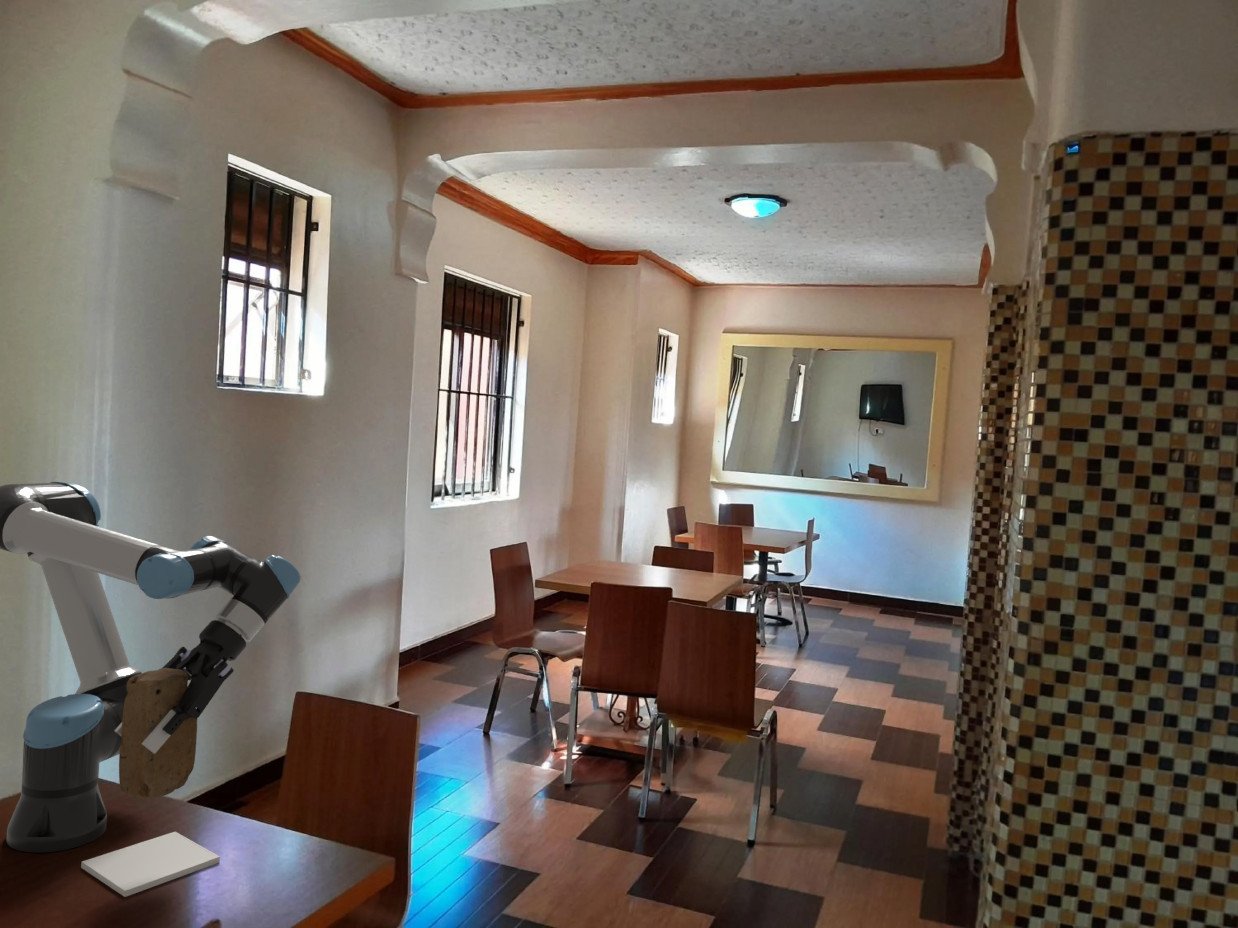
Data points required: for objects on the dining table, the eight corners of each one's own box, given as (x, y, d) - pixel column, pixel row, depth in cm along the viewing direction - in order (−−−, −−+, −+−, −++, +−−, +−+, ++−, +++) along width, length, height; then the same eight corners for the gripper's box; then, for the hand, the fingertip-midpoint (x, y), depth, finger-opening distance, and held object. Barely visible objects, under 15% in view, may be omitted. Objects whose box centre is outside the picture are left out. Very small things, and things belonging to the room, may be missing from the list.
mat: (81, 867, 151) (81, 861, 151) (174, 836, 164) (175, 831, 164) (124, 896, 143) (125, 890, 143) (219, 862, 156) (219, 856, 156)
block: (141, 805, 146) (148, 682, 146) (112, 793, 150) (119, 673, 149) (200, 784, 156) (207, 669, 155) (171, 774, 159) (178, 661, 159)
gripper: (278, 655, 158) (183, 770, 145) (210, 633, 170) (117, 738, 157) (253, 628, 154) (153, 745, 141) (185, 608, 165) (87, 714, 153)
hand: (134, 741), depth 149 cm, fingers closed on block, 8 cm apart
